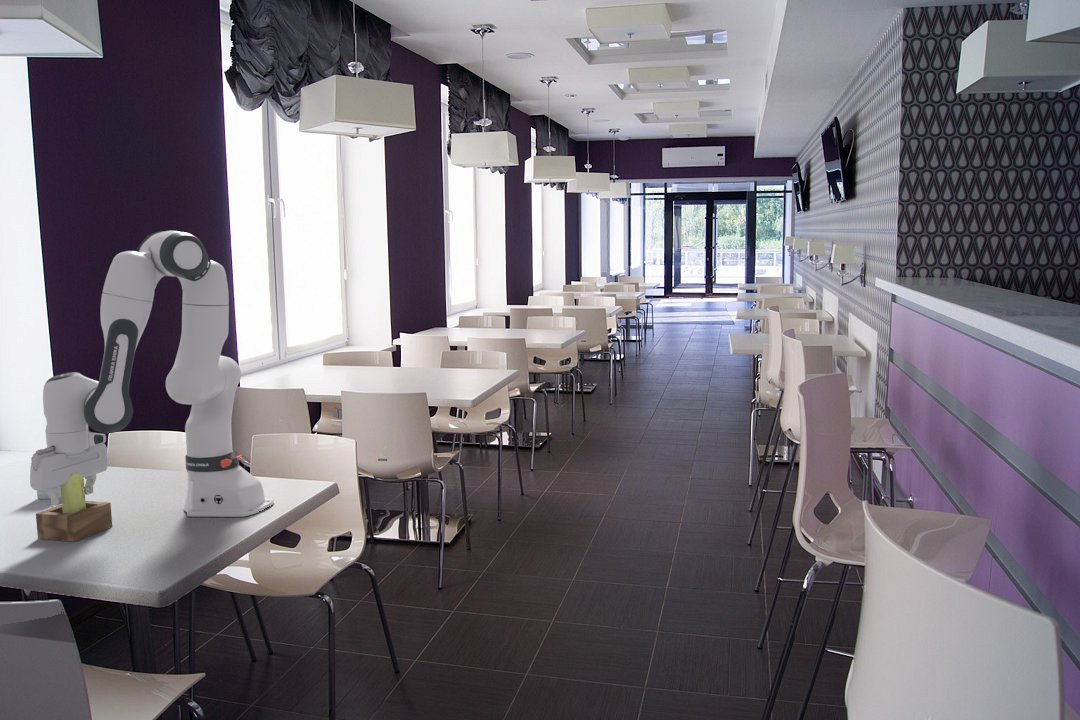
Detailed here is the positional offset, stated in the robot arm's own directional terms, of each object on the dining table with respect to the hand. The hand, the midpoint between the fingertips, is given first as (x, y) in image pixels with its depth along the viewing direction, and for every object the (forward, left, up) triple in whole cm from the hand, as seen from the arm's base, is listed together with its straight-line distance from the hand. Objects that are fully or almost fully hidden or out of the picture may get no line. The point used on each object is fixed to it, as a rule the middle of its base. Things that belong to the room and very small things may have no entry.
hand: (73, 499), depth 205 cm
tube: (0, 0, -8) cm, 8 cm away
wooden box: (0, 0, -8) cm, 8 cm away
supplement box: (+31, -26, -8) cm, 41 cm away
